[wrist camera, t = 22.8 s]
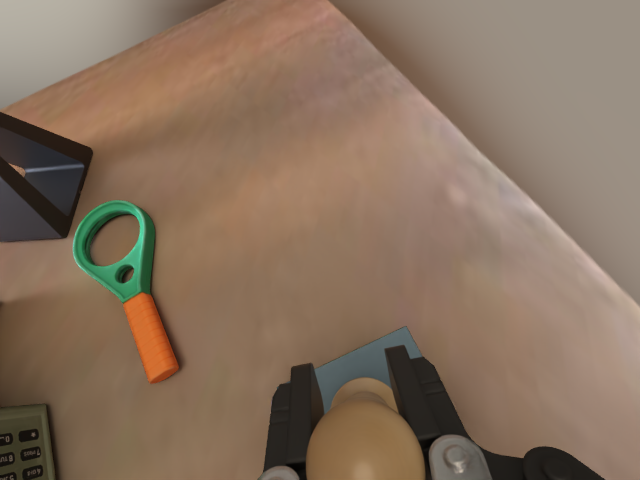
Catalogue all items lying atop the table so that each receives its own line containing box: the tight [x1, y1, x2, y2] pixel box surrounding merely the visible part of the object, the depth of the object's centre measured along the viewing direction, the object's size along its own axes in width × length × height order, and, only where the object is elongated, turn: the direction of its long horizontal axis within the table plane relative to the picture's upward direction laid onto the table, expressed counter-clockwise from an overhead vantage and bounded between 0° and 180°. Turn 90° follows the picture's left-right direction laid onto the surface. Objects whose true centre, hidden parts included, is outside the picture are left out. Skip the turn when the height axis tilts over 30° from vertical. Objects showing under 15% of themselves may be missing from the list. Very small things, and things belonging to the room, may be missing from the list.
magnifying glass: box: [73, 200, 179, 384], centre depth 25 cm, size 15×6×2 cm, turn 33°
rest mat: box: [277, 326, 422, 415], centre depth 20 cm, size 9×7×1 cm
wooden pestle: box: [306, 377, 426, 480], centre depth 13 cm, size 4×4×14 cm
